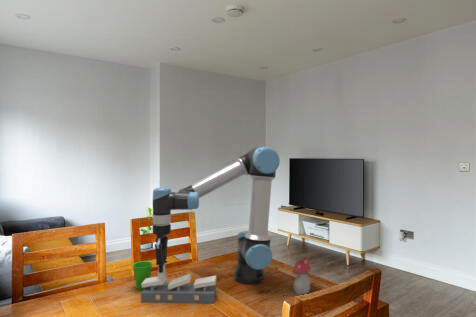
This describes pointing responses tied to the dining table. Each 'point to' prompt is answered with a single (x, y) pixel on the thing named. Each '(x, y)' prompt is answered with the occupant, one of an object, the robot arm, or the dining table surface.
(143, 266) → the cup
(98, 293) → the dining table surface
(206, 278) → the rocker
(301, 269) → the decorative ornament
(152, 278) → the rocker
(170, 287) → the rocker
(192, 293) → the switch unit
